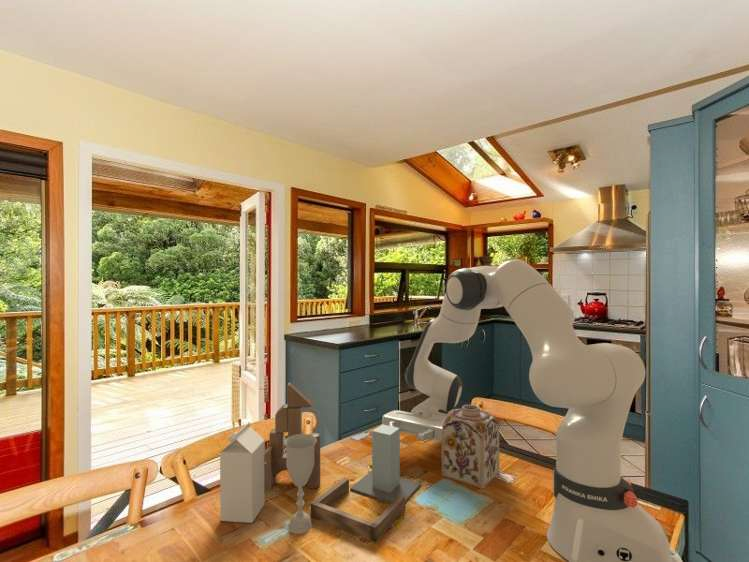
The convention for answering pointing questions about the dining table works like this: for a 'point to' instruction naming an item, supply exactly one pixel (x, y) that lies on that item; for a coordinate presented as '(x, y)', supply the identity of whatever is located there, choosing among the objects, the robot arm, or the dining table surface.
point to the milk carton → (242, 476)
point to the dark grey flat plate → (403, 489)
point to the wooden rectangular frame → (351, 522)
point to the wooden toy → (289, 422)
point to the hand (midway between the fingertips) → (404, 434)
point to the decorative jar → (470, 446)
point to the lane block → (386, 458)
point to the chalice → (300, 475)
